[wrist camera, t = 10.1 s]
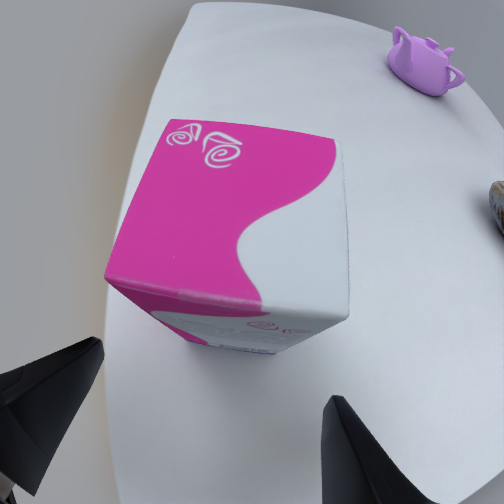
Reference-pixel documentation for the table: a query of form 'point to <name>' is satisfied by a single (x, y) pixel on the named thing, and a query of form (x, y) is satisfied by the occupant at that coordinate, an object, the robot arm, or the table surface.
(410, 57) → the teapot
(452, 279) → the table surface
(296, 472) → the table surface
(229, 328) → the supplement box
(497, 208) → the seashell
